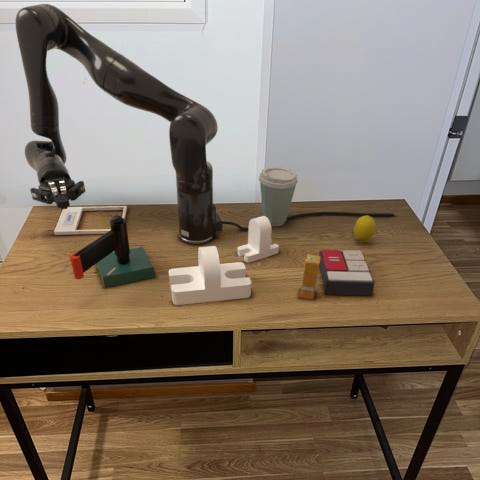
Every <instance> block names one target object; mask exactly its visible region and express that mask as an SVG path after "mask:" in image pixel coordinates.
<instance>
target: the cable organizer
mask: <svg viewBox="0 0 480 480" xmlns="http://www.w3.org/2000/svg"><path fill="white" fill-rule="evenodd" d="M248 228H249V229H248V230H247V232H248V233H247V243H246V244H242V245H240V246H237V254H236V255H238V257H243V261H244V262H245V263H248V264H250V263H252V262H256V261H258V260H261V259H265V258H268V257H271V256H274V255H277V254H279V249H280V246H279V244H278V243H272V242H273V239H272V230H273V229H272V226H271V224H270V221H269V219H268V218H267V217H266V216H263V215H262V216H258V217H255V218H254V217H253V218H251V219H250V220H249V221H248Z"/></svg>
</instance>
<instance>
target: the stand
mask: <svg viewBox="0 0 480 480" xmlns="http://www.w3.org/2000/svg"><path fill="white" fill-rule="evenodd" d="M95 267H96V269H97V272H98V274H99V276H100V280H101V282H102V285H103V287H104V288H105V289H106V288H110V287H115V286H118V285H124V284H125V285H126V284H130V283H133V282H134V283H135V282H139V281H142V280H148V279H153V278H155V268H154V265H153V263H152V262H151V260H150V258H149V256H148V254H147V252H146V251H145V249H144V247H143V246H140V247H134V248H130V254H129V255H127V256H124V257H118V256H116V255H115V253H114V251H113V252H112V253H111V254H109V255H108V256H106V257H105V258H104V259H102V260H101V261H99V262H98V263H96V264H95Z"/></svg>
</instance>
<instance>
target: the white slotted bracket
mask: <svg viewBox="0 0 480 480" xmlns="http://www.w3.org/2000/svg"><path fill="white" fill-rule="evenodd" d="M197 257H198V258H197V259H198V261H197V262H198V265H196V266H186V267H185V266H184V267H175V268H170V269H168V282H169V289H170V290H171V291H170V292H171V300H172V304H173V305H174V306H183V305H194V304H202V303H211V302H213V303H214V302H221V301H229V300H230V301H232V300H240V299H248V298H250V297H251V293H252V292H251V291H252V280H251V278H250V276H247V277H246V274H247V268H246V266H245V264H244V263H243V262H241V261H240V262H237V261H236V262H228V263H221V261H220V255H219V251H218V248H217V246H216V245H211V246H199V247H198V252H197Z"/></svg>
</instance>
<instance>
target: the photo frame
mask: <svg viewBox="0 0 480 480" xmlns="http://www.w3.org/2000/svg"><path fill="white" fill-rule="evenodd" d="M67 208H68V209H63V210H62V211H61V213H60V216H59V219H58V220H57V223H56V226H55V227H54V231H53V233H54V236H59V235H60V236H61V235H62V236H63V235H64V236H65V235H98V234H99V235H104V234H105V233H107V232H109V231H110V230H111V228H110V229H109V228H108V229H106V228H105V229H78V226H79V225H80V220H81V218H82V215H83V212H85V211H86V212H87V211H88V212H89V211H90V212H91V211H122V215H121V217H122V218H124V219H125V220H126V216H127V211H128V206H127V205H116V206H115V205H107V206H105V205H103V206H69V207H67Z"/></svg>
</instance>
